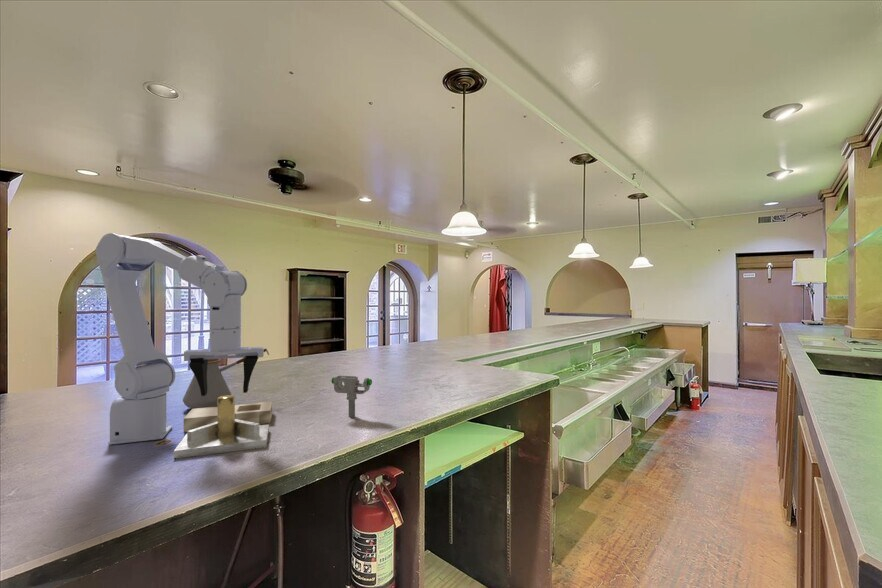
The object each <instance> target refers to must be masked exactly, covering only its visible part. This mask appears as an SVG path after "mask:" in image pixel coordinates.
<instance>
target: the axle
mask: <svg viewBox="0 0 882 588" xmlns="http://www.w3.org/2000/svg"><path fill="white" fill-rule="evenodd" d="M235 398H236V396H235V395H232V394H231V395H226V396H221V397H218V398H217V424H218V438H228V437H232V436H234V435H235V405H236V402H235V400H236V399H235Z"/></svg>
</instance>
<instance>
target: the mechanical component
mask: <svg viewBox="0 0 882 588" xmlns="http://www.w3.org/2000/svg"><path fill="white" fill-rule="evenodd" d="M331 384H333V390H334V392H335V393H337V394H346V400H348V418H349V417H353V418H354V417H355V416H356V400H357V399H358V396H357V395H363V394H365V393H367V392H369V390H370V389H371V388H370V387H371V386H372V384H373V380H372V378H369V377H365V378H364V380H363V382H362V383H361V382H360V380H359V376H355V375H337V376H333V377H332V378H331ZM358 388H363V389H358Z"/></svg>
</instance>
